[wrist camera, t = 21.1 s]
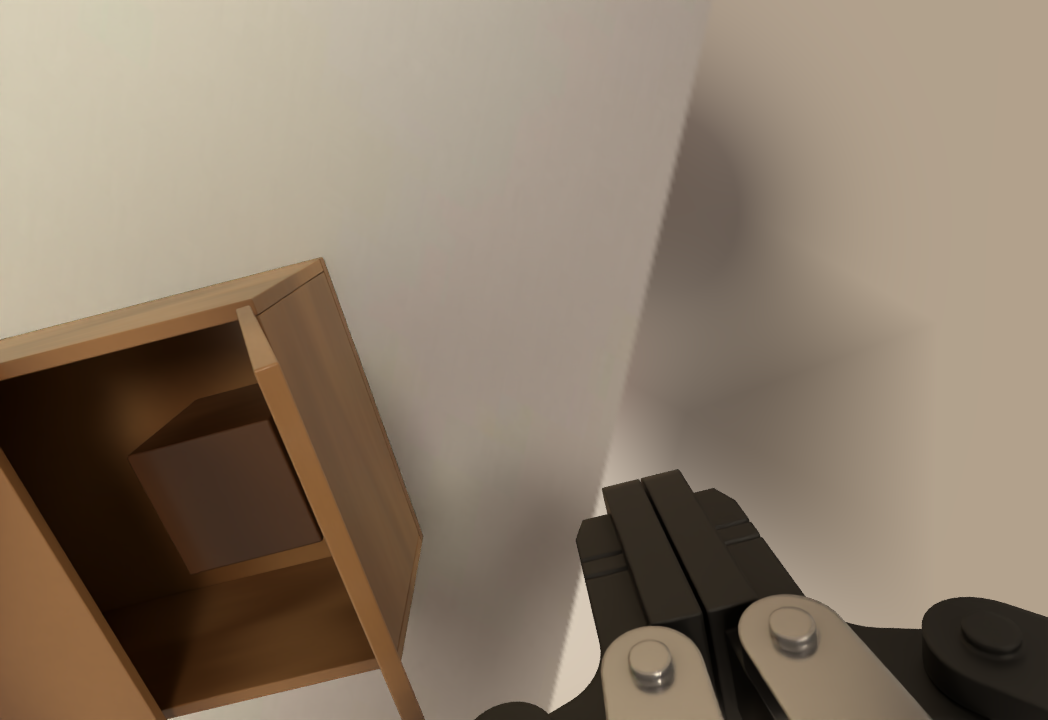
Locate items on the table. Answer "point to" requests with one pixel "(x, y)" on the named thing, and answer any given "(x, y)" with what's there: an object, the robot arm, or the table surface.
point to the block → (225, 482)
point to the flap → (326, 511)
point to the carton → (138, 534)
